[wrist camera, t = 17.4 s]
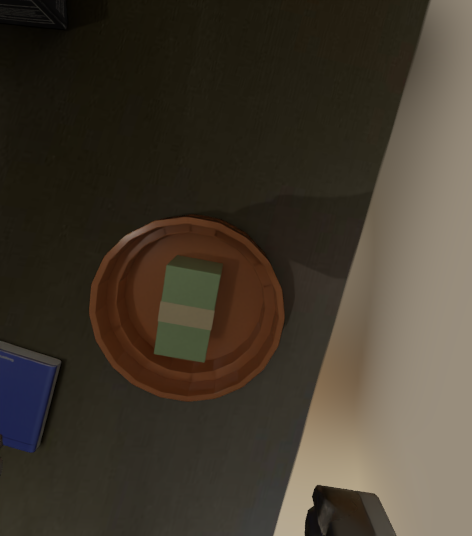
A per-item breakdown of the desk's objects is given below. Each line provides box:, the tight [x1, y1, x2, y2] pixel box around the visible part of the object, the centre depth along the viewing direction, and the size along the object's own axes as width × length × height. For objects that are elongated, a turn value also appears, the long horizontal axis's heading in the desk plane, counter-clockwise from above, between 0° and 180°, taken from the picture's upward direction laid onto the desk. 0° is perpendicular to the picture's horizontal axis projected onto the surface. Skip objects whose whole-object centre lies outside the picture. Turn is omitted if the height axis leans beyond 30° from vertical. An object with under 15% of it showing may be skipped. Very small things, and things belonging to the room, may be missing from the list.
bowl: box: [89, 214, 285, 402], centre depth 31 cm, size 18×18×6 cm
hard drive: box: [0, 341, 61, 452], centre depth 36 cm, size 2×8×12 cm
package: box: [154, 255, 223, 363], centre depth 31 cm, size 5×9×5 cm, turn 169°
